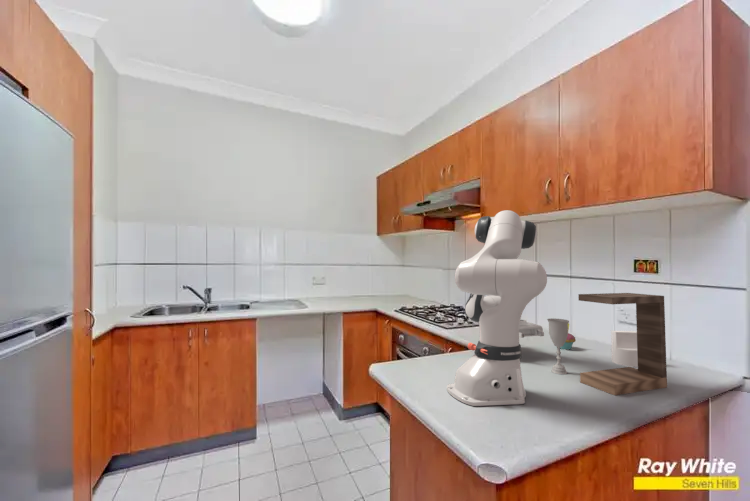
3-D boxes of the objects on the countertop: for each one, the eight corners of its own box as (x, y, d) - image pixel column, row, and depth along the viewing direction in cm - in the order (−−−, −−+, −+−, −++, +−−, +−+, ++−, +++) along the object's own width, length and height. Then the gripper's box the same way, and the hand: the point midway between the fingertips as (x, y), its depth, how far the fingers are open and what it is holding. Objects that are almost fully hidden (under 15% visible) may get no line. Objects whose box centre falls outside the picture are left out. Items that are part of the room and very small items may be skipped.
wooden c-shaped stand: (614, 395, 94) (612, 297, 95) (580, 382, 105) (578, 294, 106) (667, 387, 101) (664, 295, 102) (629, 375, 111) (627, 292, 112)
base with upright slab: (630, 360, 130) (630, 329, 130) (647, 367, 121) (646, 334, 122) (606, 359, 131) (605, 329, 131) (621, 366, 122) (620, 333, 122)
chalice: (573, 376, 110) (572, 322, 111) (551, 374, 112) (550, 321, 113) (565, 369, 118) (564, 318, 118) (545, 368, 119) (544, 318, 120)
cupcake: (570, 346, 151) (570, 320, 152) (579, 351, 143) (578, 323, 143) (550, 345, 152) (550, 319, 153) (558, 350, 144) (557, 323, 145)
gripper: (487, 321, 137) (510, 327, 123) (527, 319, 143) (553, 325, 130) (487, 337, 136) (510, 344, 123) (527, 334, 142) (553, 341, 129)
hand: (532, 334), depth 126 cm, fingers open, 8 cm apart
